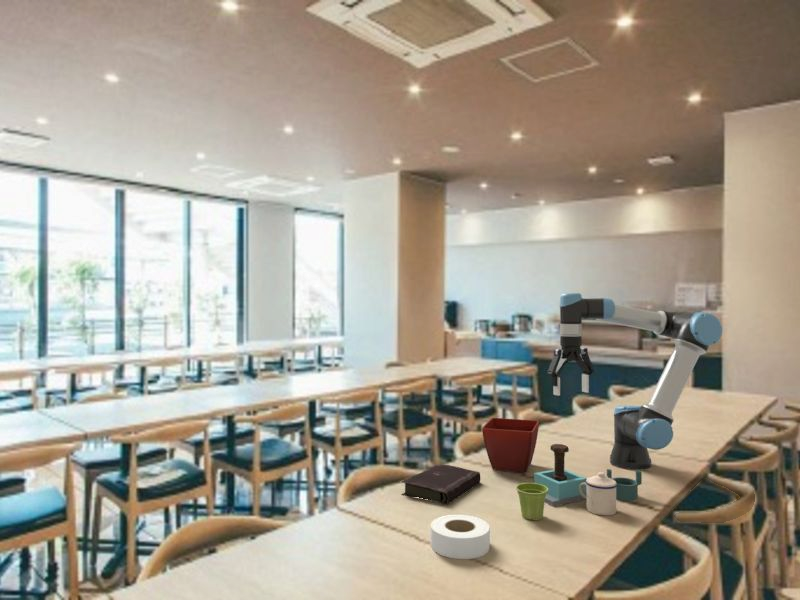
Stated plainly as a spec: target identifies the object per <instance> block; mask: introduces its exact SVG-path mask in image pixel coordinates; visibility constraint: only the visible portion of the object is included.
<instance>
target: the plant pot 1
mask: <svg viewBox="0 0 800 600" xmlns="http://www.w3.org/2000/svg"><path fill="white" fill-rule="evenodd" d="M539 425H540V421H539V420H533V419H521V418H519V419H517V418H502V417H491V418H489V420H488V421H487V422H486V423H485V424H484V425H483V426H482V427H481V432H482V437H483V442H484V447H485V451H486V454H487V457H488V460H489V463H490V466H491V469H492V470H493V471H499V470H500V471H501V472H502V471H503V472H511V473H520V474H524V473H525V474H526V473H527V472H528V470H529V468H530V466H531V464H532V461H533V458H534V453H535V450H536V445H537V439H538V435H539V434H538V433H539Z"/></svg>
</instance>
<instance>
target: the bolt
mask: <svg viewBox="0 0 800 600" xmlns="http://www.w3.org/2000/svg"><path fill="white" fill-rule="evenodd" d="M569 449H570V448H569V446H567V445H565V444H562V443H554V444H551V445H550V451H552V452H553V453H554V454H553V456H554V470H555V473H553V474H552V479H554V480H556V481H559V482H561V481H566V480H567V476H566V475H565V474H564V469H565V455H566V453H568V452H569Z"/></svg>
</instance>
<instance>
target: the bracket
mask: <svg viewBox="0 0 800 600" xmlns="http://www.w3.org/2000/svg"><path fill="white" fill-rule="evenodd" d="M612 473H613V471H612V469H611V468H606V476H607V477H608V478H611V479H613V480H615V481H616V483H617V487H616V501H617V500H618V501H620V500H621V502H635V500H636V501H638V499H639V493H638V492H639V490H638V489H639V487H638V486H640V485H642V481H643V480H642V478H643V477H642V470H635V480H634V479H633V478H630V477H623V476H622V477H613V475H612Z"/></svg>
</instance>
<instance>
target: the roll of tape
mask: <svg viewBox="0 0 800 600" xmlns="http://www.w3.org/2000/svg"><path fill="white" fill-rule="evenodd" d="M490 530H491V527H490V525H489V523H488V522H487V521H485V520H484V519H481V518H479V517H476V516H472V515H468V514H467V515H466V514H447V515H443V516H438V517H436V518H435V519H432V522H431V523H430V548H431V549H432V551H434V552H435V553H436V552H437V554H438V555H440V556H441V557H442V556H443V557H445V556H446V557H445V558H449V559H454V560H472V559H473V560H474V559H477V558H480V557H483V556H485V555H486V554H487V553H488V552H489V551H490V548H491V547H490V546H491V545H490V542H491V541H490V540H491V539H490V538H491V535H490V534H491V533H490V532H491V531H490Z"/></svg>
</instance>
